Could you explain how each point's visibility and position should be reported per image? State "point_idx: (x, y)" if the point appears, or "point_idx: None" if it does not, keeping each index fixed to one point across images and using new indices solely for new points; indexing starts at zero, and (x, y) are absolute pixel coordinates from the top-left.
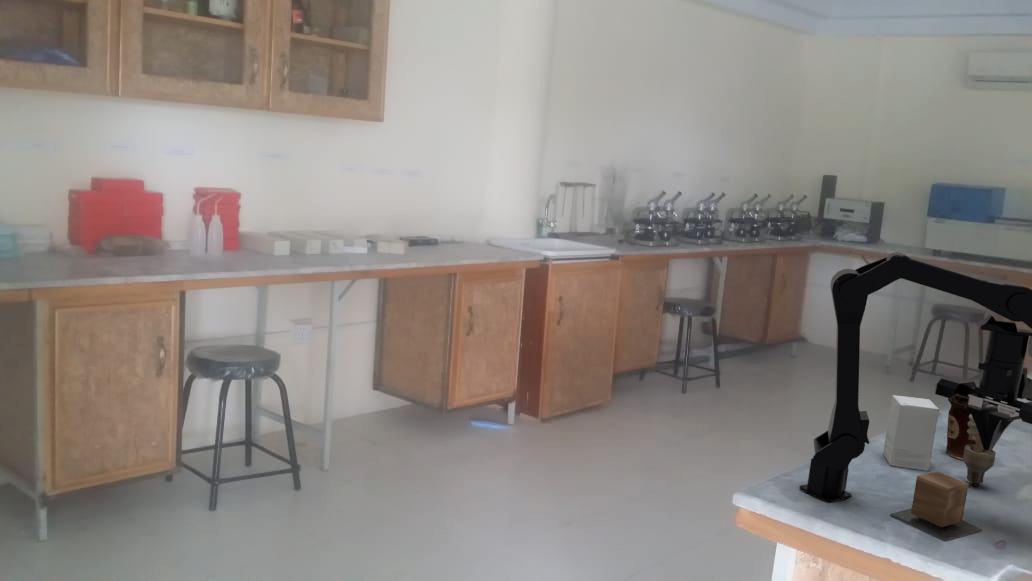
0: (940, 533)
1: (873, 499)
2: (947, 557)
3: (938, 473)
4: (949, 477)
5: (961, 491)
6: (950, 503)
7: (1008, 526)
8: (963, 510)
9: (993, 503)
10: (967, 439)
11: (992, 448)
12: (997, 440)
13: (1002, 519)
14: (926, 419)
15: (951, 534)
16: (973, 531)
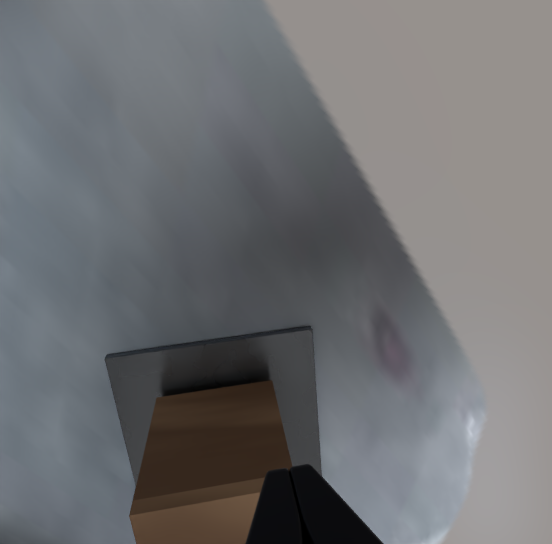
0: None
1: (15, 481)
2: (380, 534)
3: (154, 528)
4: (210, 514)
5: None
6: None
7: (317, 193)
8: (278, 407)
9: (129, 14)
10: None
11: (318, 476)
12: (372, 539)
13: (267, 153)
14: None
15: (308, 452)
16: (314, 370)
